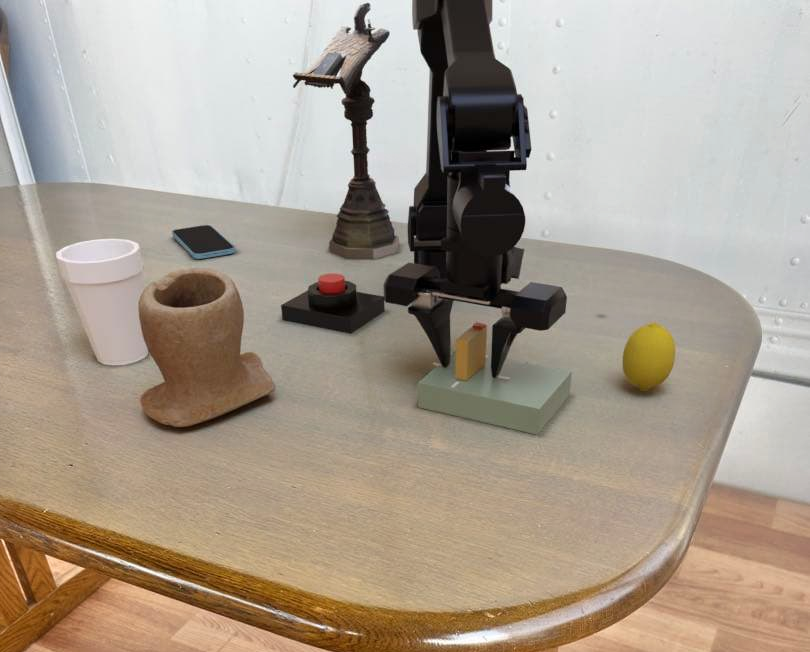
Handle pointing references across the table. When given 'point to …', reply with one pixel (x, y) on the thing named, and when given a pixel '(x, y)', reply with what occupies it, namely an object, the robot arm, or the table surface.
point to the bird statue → (355, 140)
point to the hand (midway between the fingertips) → (470, 370)
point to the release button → (331, 283)
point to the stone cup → (198, 348)
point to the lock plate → (497, 394)
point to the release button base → (333, 308)
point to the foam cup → (107, 296)
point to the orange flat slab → (470, 351)
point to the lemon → (648, 356)
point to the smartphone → (203, 241)
